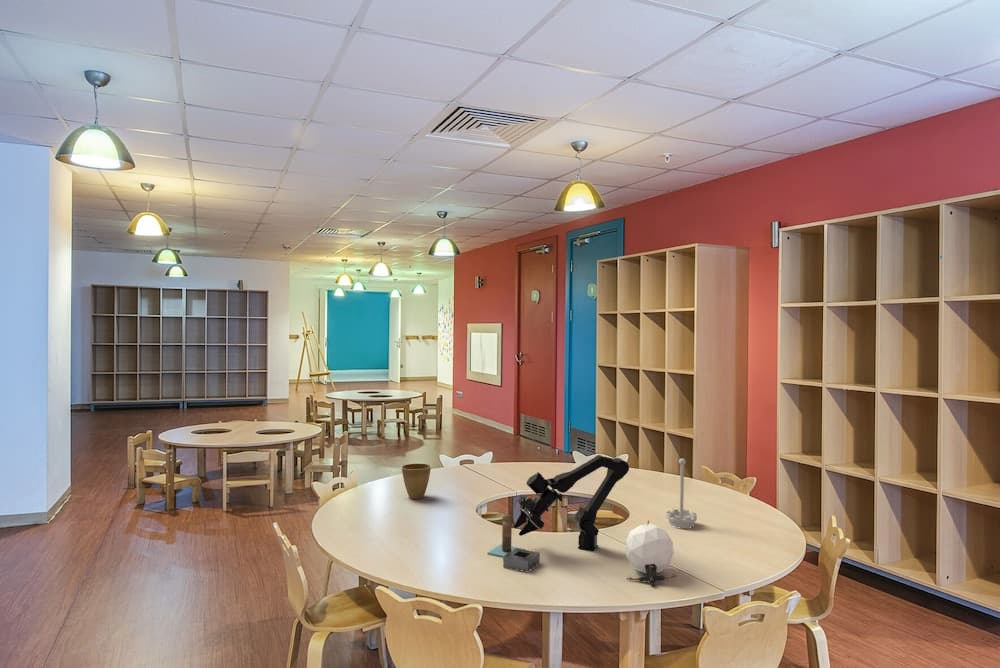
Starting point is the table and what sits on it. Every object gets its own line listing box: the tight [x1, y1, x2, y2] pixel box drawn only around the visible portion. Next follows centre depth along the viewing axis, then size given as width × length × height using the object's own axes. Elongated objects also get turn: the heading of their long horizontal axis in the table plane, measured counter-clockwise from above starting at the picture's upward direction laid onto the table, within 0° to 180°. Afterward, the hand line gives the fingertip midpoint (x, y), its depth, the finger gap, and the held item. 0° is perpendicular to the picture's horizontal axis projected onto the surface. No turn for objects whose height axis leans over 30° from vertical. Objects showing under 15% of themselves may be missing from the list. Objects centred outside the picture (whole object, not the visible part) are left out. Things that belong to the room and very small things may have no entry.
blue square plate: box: [486, 543, 526, 558], centre depth 252 cm, size 11×11×1 cm
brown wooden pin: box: [501, 513, 513, 552], centre depth 252 cm, size 4×4×14 cm
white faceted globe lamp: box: [625, 520, 678, 586], centre depth 230 cm, size 17×25×24 cm
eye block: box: [502, 547, 541, 572], centre depth 239 cm, size 10×10×4 cm
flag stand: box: [666, 458, 698, 529], centre depth 289 cm, size 13×13×30 cm
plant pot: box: [401, 463, 432, 500], centre depth 330 cm, size 15×15×16 cm
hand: (517, 531), depth 253 cm, fingers open, 9 cm apart
